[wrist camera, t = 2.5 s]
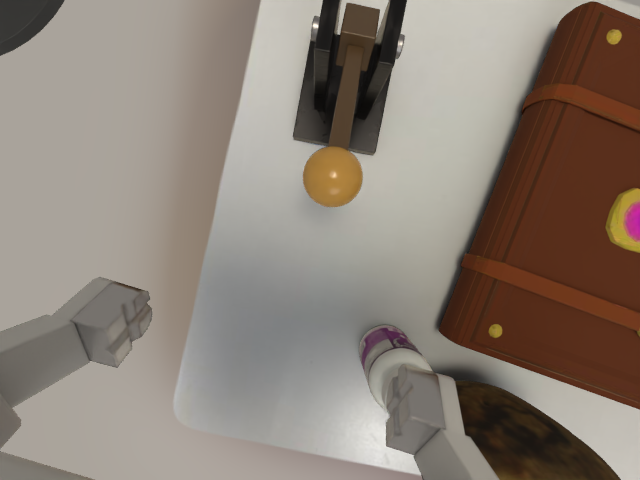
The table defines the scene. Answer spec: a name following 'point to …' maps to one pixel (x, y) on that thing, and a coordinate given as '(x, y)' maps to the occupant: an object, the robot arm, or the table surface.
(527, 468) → the brown lumpy potato
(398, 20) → the black lever stand
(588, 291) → the book
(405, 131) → the table surface
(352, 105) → the lever
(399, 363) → the pill bottle
